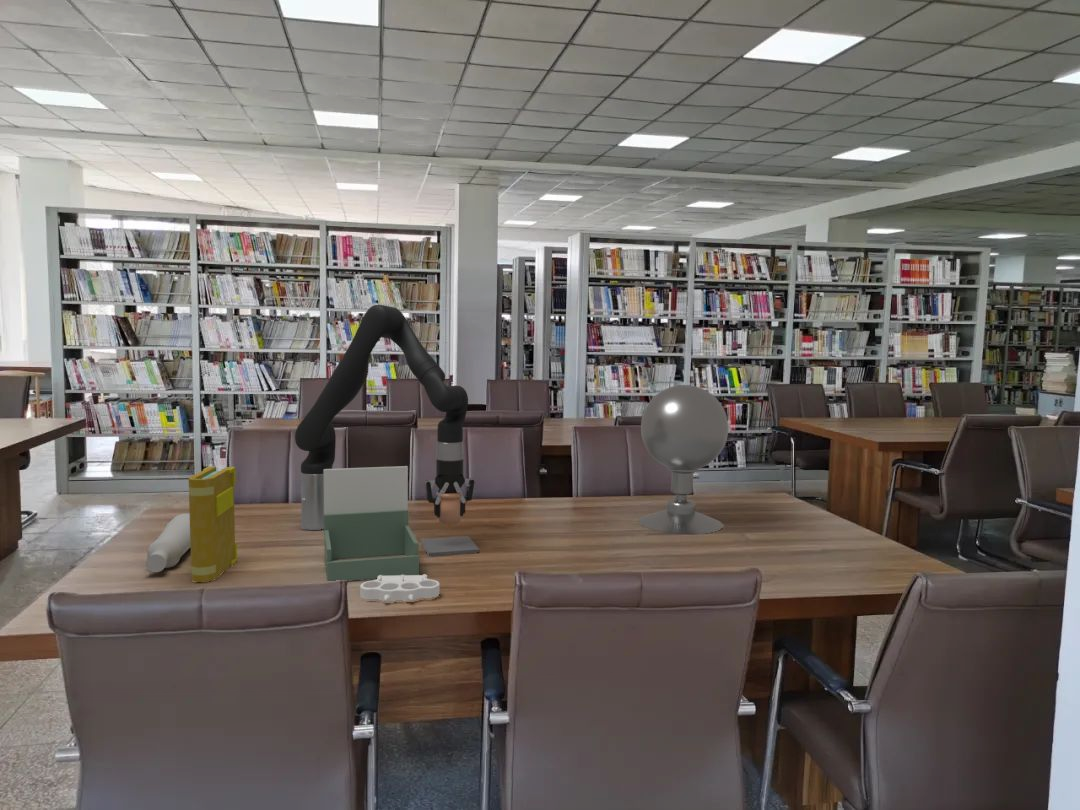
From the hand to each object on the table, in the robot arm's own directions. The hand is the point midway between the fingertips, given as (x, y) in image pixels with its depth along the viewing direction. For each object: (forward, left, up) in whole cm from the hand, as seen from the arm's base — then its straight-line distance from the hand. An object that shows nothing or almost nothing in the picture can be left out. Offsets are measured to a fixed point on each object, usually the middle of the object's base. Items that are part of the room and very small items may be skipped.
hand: (449, 516), depth 211 cm
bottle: (-72, +8, -9) cm, 73 cm away
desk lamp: (+78, +9, -9) cm, 79 cm away
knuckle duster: (-18, -34, -10) cm, 40 cm away
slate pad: (0, 0, -9) cm, 9 cm away
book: (-61, -6, -9) cm, 62 cm away
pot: (0, 0, -1) cm, 1 cm away
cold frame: (-23, -12, -9) cm, 27 cm away
